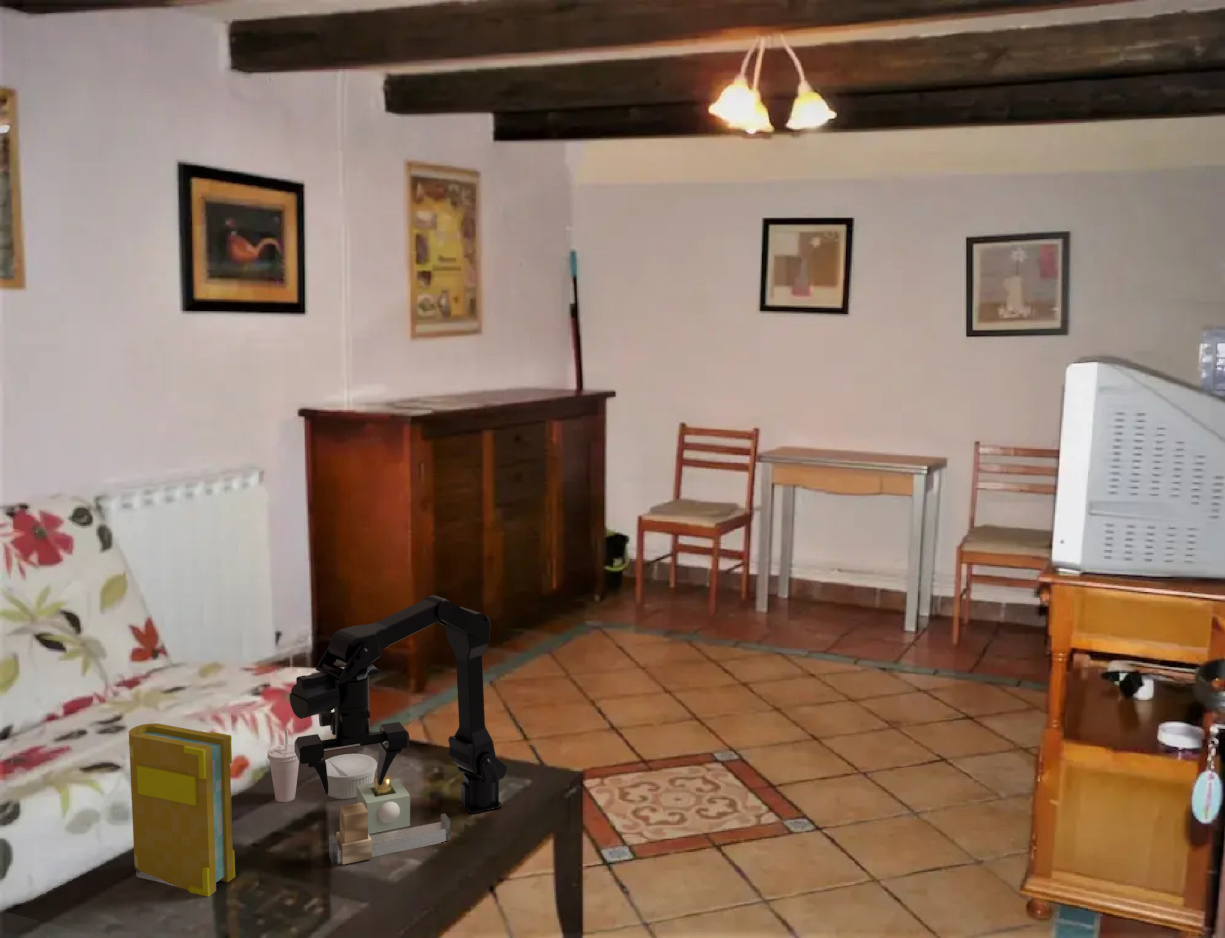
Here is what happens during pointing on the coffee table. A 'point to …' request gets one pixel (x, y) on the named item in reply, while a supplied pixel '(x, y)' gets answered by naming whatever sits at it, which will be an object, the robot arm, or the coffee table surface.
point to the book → (182, 806)
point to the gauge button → (383, 786)
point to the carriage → (354, 833)
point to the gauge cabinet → (385, 807)
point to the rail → (399, 839)
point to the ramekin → (349, 774)
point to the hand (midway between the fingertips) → (353, 788)
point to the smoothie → (284, 770)
